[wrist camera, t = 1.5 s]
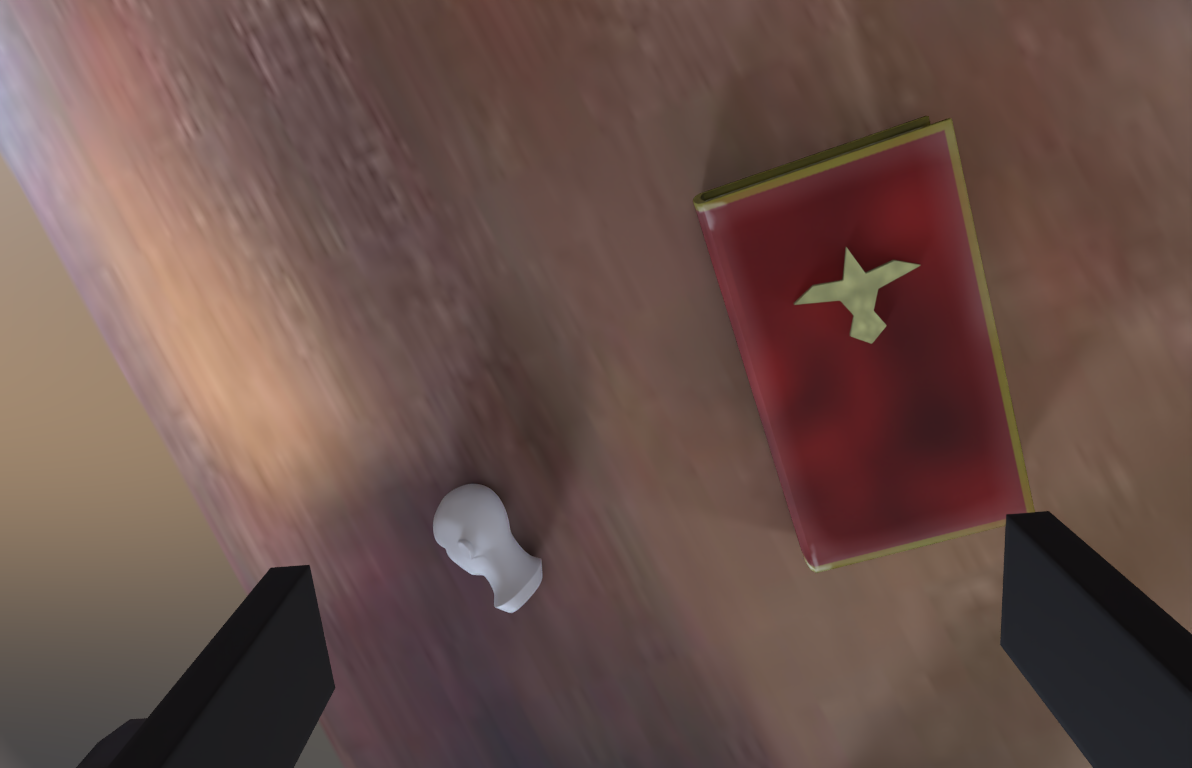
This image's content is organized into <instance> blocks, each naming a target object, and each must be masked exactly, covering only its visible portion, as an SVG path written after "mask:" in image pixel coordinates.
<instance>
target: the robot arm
mask: <svg viewBox="0 0 1192 768" xmlns="http://www.w3.org/2000/svg"><path fill="white" fill-rule="evenodd" d="M1000 645H1001V646H1002V648H1003V649H1004V650H1005V652H1006V653H1007V654H1008V656H1009V657H1010V658H1011V660H1012V661H1013V662H1014V664H1015V665H1016V666H1017V668H1018V669H1019V670H1020V671H1021V673H1022V674H1023V675H1024V677H1025V678H1026V679H1027V681H1028V682H1029V683H1030V685H1031V686H1032V687H1033V689H1034V690H1035V691H1036V693H1037V694H1038V695H1039V697H1040V698H1041V699H1042V701H1043V702H1044V703H1045V705H1046V706H1047V707H1048V709H1049V710H1050V711H1051V712H1052V714H1053V715H1054V716H1055V718H1056V719H1057V720H1058V722H1059V723H1060V724H1061V726H1062V727H1063V728H1064V730H1065V731H1066V732H1067V734H1068V735H1069V736H1070V738H1071V739H1072V740H1073V742H1074V743H1075V744H1076V746H1077V747H1078V748H1079V749H1080V751H1081V752H1082V753H1083V755H1084V756H1085V757H1086V759H1087V760H1088V761H1089V763H1090V764H1091V765H1092V767H1093V768H1192V634H1191V633H1190V632H1188V631H1187V630H1186V629H1185V628H1184V627H1183V626H1181V625H1180V624H1179V623H1178V622H1177V621H1176V620H1174V619H1173V618H1172V617H1171V616H1170V615H1169V614H1167V613H1166V612H1165V611H1164V610H1163V609H1162V608H1160V607H1159V606H1158V605H1157V604H1156V603H1155V602H1154V601H1152V600H1151V599H1150V598H1149V597H1148V596H1147V595H1145V594H1144V593H1143V592H1142V591H1141V590H1140V589H1138V588H1137V587H1136V586H1135V585H1134V584H1133V583H1131V582H1130V581H1129V580H1128V579H1127V578H1126V577H1125V576H1123V575H1122V574H1121V573H1120V572H1119V571H1118V570H1116V569H1115V568H1114V567H1113V566H1112V565H1111V564H1109V563H1108V562H1107V561H1106V560H1105V559H1104V558H1102V557H1101V556H1100V555H1099V554H1098V553H1097V552H1095V551H1094V550H1093V549H1092V548H1091V547H1090V546H1089V545H1087V544H1086V543H1085V542H1084V541H1083V540H1082V539H1080V538H1079V537H1078V536H1077V535H1076V534H1075V533H1073V532H1072V531H1071V530H1070V529H1069V528H1068V527H1066V526H1065V525H1064V524H1063V523H1062V522H1061V521H1060V520H1058V519H1057V518H1056V517H1055V516H1054V515H1053V514H1051V513H1050V512H1049V511H1045V512H1031V513H1018V514H1006V529H1005V552H1004V574H1003V597H1002V619H1001V641H1000ZM334 689H335V685H334V680H333V675H332V670H331V665H330V661H329V656H328V651H327V646H326V641H325V637H324V632H323V627H322V622H321V618H320V613H319V608H318V603H317V598H316V594H315V589H314V584H313V579H312V574H311V570H310V565H302V566H289V567H275V568H270V569H269V571H268V572H267V573H266V574H265V575H264V577H263V578H262V579H261V580H260V581H259V583H258V584H257V585H256V586H255V588H254V589H253V590H252V591H251V592H250V594H249V595H248V596H247V597H246V599H245V600H244V601H243V602H242V604H241V605H240V606H239V607H238V608H237V610H236V611H235V612H234V613H233V614H232V616H231V617H230V618H229V619H228V621H227V622H226V623H225V624H224V625H223V627H222V628H221V629H220V630H219V632H218V633H217V634H216V635H215V636H214V638H213V639H212V640H211V641H210V643H209V644H208V645H207V646H206V647H205V649H204V650H203V651H202V652H201V654H200V655H199V656H198V657H197V658H196V660H195V661H194V662H193V663H192V664H191V666H190V667H189V668H188V669H187V670H186V672H185V673H184V674H183V675H182V677H181V678H180V679H179V680H178V681H177V683H176V684H175V685H174V686H173V688H172V689H171V690H170V691H169V693H168V694H167V695H166V696H165V697H164V699H163V700H162V701H161V702H160V703H159V705H158V706H157V707H156V708H155V710H154V711H153V712H152V713H151V714H150V716H149V717H148V718H146V719H145V718H144V719H130V720H129V721H127V722H126V723H124V724H123V725H122V726H120V727H119V728H117V729H116V730H115V731H113V732H112V733H111V734H109V735H108V736H106V737H105V738H104V739H102V740H101V741H100V742H99V743H97V744H96V745H95V747H94V748H93V749H92V750H91V751H90V752H89V753H88V755H87V756H86V757H85V758H84V759H83V761H82V762H81V763H80V764H79V765H78V766H77V767H76V768H294V766H295V764H296V762H297V760H298V758H299V756H300V754H301V753H302V750H303V748H304V747H305V745H306V743H307V741H308V739H309V737H310V735H311V733H312V731H313V730H314V728H315V726H316V724H317V722H318V720H319V718H320V716H321V714H322V712H323V710H324V708H325V707H326V705H327V703H328V701H329V699H330V697H331V695H332V693H333V691H334Z"/></svg>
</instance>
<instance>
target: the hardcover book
mask: <svg viewBox="0 0 1192 768" xmlns="http://www.w3.org/2000/svg"><path fill="white" fill-rule="evenodd" d="M693 203H694V206H695V209H696V212H697V216H698V219H699V222H700V225H701V228H702V232H703V235H704V238H705V241H706V244H707V248H708V251H709V254H710V257H711V261H712V264H713V267H714V270H715V273H716V277H717V280H718V283H719V286H720V290H721V293H722V296H723V299H724V302H725V306H726V309H727V312H728V315H729V318H730V322H731V325H732V328H733V331H734V335H735V338H736V341H737V344H738V347H739V351H740V354H741V357H742V360H743V364H744V367H745V370H746V373H747V376H748V380H749V383H750V386H751V389H752V393H753V396H754V399H755V402H756V405H757V409H758V412H759V415H760V418H761V421H762V425H763V428H764V431H765V434H766V438H767V441H768V444H769V447H770V450H771V454H772V457H773V460H774V463H775V467H776V470H777V473H778V476H779V479H780V483H781V486H782V489H783V492H784V495H785V499H786V502H787V505H788V508H789V512H790V515H791V518H792V521H793V524H794V528H795V531H796V534H797V537H798V541H799V544H800V547H801V550H802V553H803V556H804V559H805V561H806V563H807V565H808V566H809V568H810V569H811V570H812V571H814V572H815V573H819V572H823V571H827V570H831V569H835V568H839V567H843V566H847V565H851V564H855V563H859V562H863V561H867V560H871V559H875V558H879V557H883V556H887V555H891V554H895V553H899V552H903V551H907V550H911V549H915V548H919V547H923V546H927V545H931V544H935V543H939V542H943V541H947V540H951V539H955V538H959V537H963V536H967V535H971V534H975V533H979V532H982V531H986V530H990V529H994V528H998V527H1002V526H1006V514H1018V513H1031V512H1035V510H1034V505H1033V500H1032V496H1031V491H1030V486H1029V482H1028V477H1027V472H1026V467H1025V463H1024V458H1023V453H1022V448H1021V444H1020V439H1019V434H1018V430H1017V425H1016V420H1015V415H1014V411H1013V406H1012V401H1011V397H1010V392H1009V387H1008V382H1007V378H1006V373H1005V368H1004V364H1003V359H1002V354H1001V349H1000V345H999V340H998V335H997V330H996V326H995V321H994V316H993V312H992V307H991V302H990V297H989V293H988V288H987V283H986V279H985V274H984V269H983V264H982V260H981V255H980V250H979V245H978V241H977V236H976V231H975V227H974V222H973V217H972V212H971V208H970V203H969V198H968V194H967V189H966V184H965V179H964V175H963V170H962V165H961V160H960V156H959V151H958V146H957V142H956V137H955V132H954V127H953V123H952V119H951V118H948V119H945V120H942V121H939V122H936V123H933V124H931V125H930V121H929V116H924V117H921V118H919V119H916V120H913V121H910V122H907V123H904V124H901V125H898V126H895V127H892V128H889V129H886V130H884V131H881V132H878V133H875V134H872V135H869V136H866V137H863V138H860V139H857V140H854V141H852V142H849V143H846V144H843V145H840V146H837V147H834V148H831V149H828V150H825V151H822V152H819V153H817V154H814V155H811V156H808V157H805V158H802V159H799V160H796V161H793V162H790V163H787V164H785V165H782V166H779V167H776V168H773V169H770V170H767V171H764V172H761V173H758V174H755V175H752V176H750V177H747V178H744V179H741V180H738V181H735V182H732V183H729V184H726V185H723V186H720V187H718V188H715V189H712V190H709V191H706V192H703V193H700V194H698V195H697V196H695V198H694V199H693Z"/></svg>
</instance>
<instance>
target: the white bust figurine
mask: <svg viewBox="0 0 1192 768" xmlns="http://www.w3.org/2000/svg"><path fill="white" fill-rule="evenodd" d="M433 532H434V537H435V539H436V541H437V542H438V544H439V545H440V546H442V547H444V548H445V549H446V552H447V554H448V556H449V557H450V558H451V559H452V560H453V561H454V562H455V563H456V564H457V565H459V566H460V567H461V568H463V569H464V570H466V571H467V572H469V573H470V574H473V575H484V576H485V577H486V578H487V580H488V581H489V583H490V585H491V586H492V589H493V591H494V595H495V599H494V607H496V608H498V609H501V610H503V611H506V612H509V613H513V612H515V611H516V610H518V609H519V608H520V607H521V606H522V605H523V604H524V603H525V602H526V601H527V600H528V599H529V598H530V597H531V596H532V595H533V593H534V592H535V591H536V590H537V588H538V587H539V585H540V583H541V581H542V562H541V559H540V558H537V557H533V556H531V555H529V554H528V553H526V552H525V551H524V550H523V549H522V548H521V546H520V545H519V544H518V543H517V541H516V540H515V538H514V537H513V535H512V533H511V531H510V525H509V520H508V516H507V513H506V510H505V508H504V505H503V503H502V501H501V500H500V498H499V497H498V496H497V494H496V493H495V492H494V491H492V490H491V489H490V488H488V487H486V486H484V485H481V484H466V485H463V486H460V487H458V488H456V489H454V490H452V491H451V492H449V493H448V494H447V495H446V496H445V497H444V498H443V499H442V501H441V503H440V505H439V507H438V509H437V511H436V513H435V516H434V521H433Z"/></svg>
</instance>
